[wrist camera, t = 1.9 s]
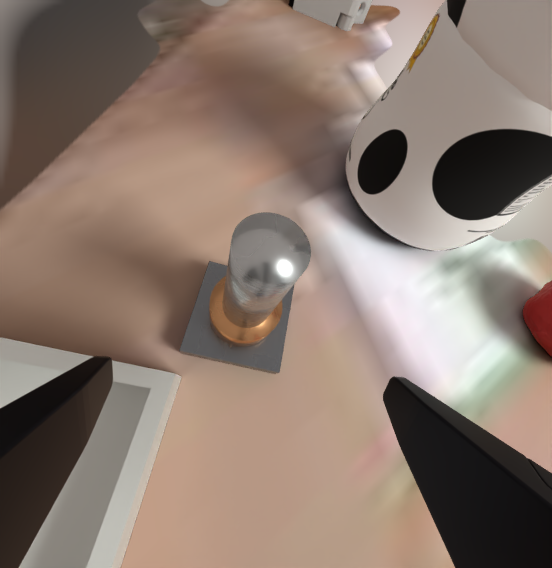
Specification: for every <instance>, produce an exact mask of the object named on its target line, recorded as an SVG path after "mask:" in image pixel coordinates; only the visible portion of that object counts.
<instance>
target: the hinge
mask: <svg viewBox="0 0 552 568" xmlns="http://www.w3.org/2000/svg"><path fill="white" fill-rule="evenodd" d="M371 3H372V0H290V1H289V5H290V6H292V7H293V10H296V11H298V12H300V13H303V14H305V15H307V16H310V17H312V18H314V19H317V20H319V21H321V22H323V23H326V24H328V25H330V26H333V27H335V26H336V25H337V26H338V27H339V28H340V29H342V30H345V31H350V30H351V27H352V25H353V23H360V24H363V22H364V20H365V17H366V15H367V12H368V10H369V8H370V5H371ZM360 4H361V7H360ZM359 7H360V9H359ZM358 9H359V10H358Z"/></svg>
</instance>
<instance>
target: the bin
mask: <svg viewBox="0 0 552 568" xmlns="http://www.w3.org/2000/svg"><path fill="white" fill-rule="evenodd" d="M92 357H93V356H88V355H84V354H79V353H74V352H69V351H64V350H59V349H55V348H50V347H45V346H40V345H35V344H30V343H26V342H21V341H16V340H11V339H6V338H1V337H0V408H2V407H3V406H5V405H7V404H9V403H11V402H12V401H14V400H16V399H18V398H20V397H21V396H23V395H25V394H27V393H29V392H30V391H32V390H34V389H36V388H38V387H39V386H41V385H43V384H45V383H47V382H48V381H50V380H52V379H54V378H56V377H57V376H59V375H61V374H63V373H65V372H66V371H68V370H70V369H72V368H74V367H75V366H77V365H79V364H81V363H83V362H84V361H86V360H88V359H90V358H92ZM112 366H113V383H112V387H111V390H110V392H109V394H108V397H107V399H106V401H105V404H104V406H103V408H102V411H101V413H100V415H99V418H98V420H97V422H96V425H95V427H94V429H93V432H92V434H91V436H90V438H89V441H88V443H87V445H86V447H85V449H84V450H83V452H82V454H81V456H80V458H79V460H78V461H77V463H76V465H75V467H74V469H73V470H72V472H71V474H70V476H69V478H68V480H67V481H66V483H65V485H64V487H63V489H62V490H61V492H60V494H59V496H58V498H57V499H56V501H55V503H54V505H53V507H52V508H51V510H50V512H49V514H48V516H47V518H46V519H45V521H44V523H43V525H42V527H41V528H40V530H39V532H38V534H37V536H36V537H35V539H34V541H33V543H32V545H31V546H30V548H29V550H28V552H27V554H26V556H25V557H24V559H23V561H22V563H21V565H20V566H19V568H121V565H122V562H123V559H124V555H125V552H126V549H127V546H128V543H129V540H130V537H131V534H132V530H133V527H134V524H135V521H136V518H137V515H138V512H139V509H140V505H141V502H142V499H143V496H144V493H145V490H146V487H147V484H148V480H149V477H150V474H151V471H152V468H153V465H154V462H155V459H156V455H157V452H158V449H159V446H160V443H161V440H162V437H163V433H164V430H165V427H166V424H167V421H168V418H169V415H170V412H171V408H172V405H173V402H174V399H175V396H176V393H177V390H178V387H179V383H180V380H181V376H179V375H177V374H175V373H170V372H166V371H161V370H156V369H151V368H146V367H141V366H137V365H132V364H127V363H122V362H117V361H112Z"/></svg>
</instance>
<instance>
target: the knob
mask: <svg viewBox="0 0 552 568" xmlns="http://www.w3.org/2000/svg"><path fill="white" fill-rule="evenodd" d="M310 257H311V249H310V244H309V241H308V239H307V236H306V235H305V233H304V232H303V230H302V229H301V228H300V227H299V226H298V225H297V224H296V223H295V222H293V221H292V220H290V219H289V218H287V217H285V216H282V215H279V214H275V213H257V214H253V215H251V216H249V217H247V218H245V219H244V220H242V221H241V222H240V223H239V224H238V225H237V227H236V228H235V230H234V233H233V235H232V240H231V247H230V254H229V261H228V267H227V274H226V276H225V277H223V278H222V279H221V280H220V281H219V282H218V283H217V284H216V285H215V287H214V289H213V291H212V293H211V296H210V303H209V317H210V323H211V326H212V328H213V330H214V332H215V333H216V335H217V336H218V337H219V338H220V339H221V340H223V341H224V342H226V343H228V344H230V345H233V346H237V347H247V346H252V345H254V344H257V343H259V342H260V341H262V340H263V339H264V338H265V337H266V336H267V335H268V334H269V333H270V332H271V331H272V330H274V328H275V327H276V326H277V324H278V323H279V321H280V318H281V315H282V299H283V297H284V296H285V295H286V294H287V292H288V291H289V290H290V289H291V287H292V286H293V285H294V284H295V282H296V281H297V280H298V279H299V277H300V276H301V275H302V274H303V272H304V271H305V270H306V268H307V266H308V264H309V262H310Z"/></svg>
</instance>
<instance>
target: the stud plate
mask: <svg viewBox="0 0 552 568" xmlns="http://www.w3.org/2000/svg"><path fill="white" fill-rule="evenodd" d="M227 267H228V266H225V265H222V264H218V263H214V262H211V261H209V264H208V267H207V270H206V273H205V276H204V279H203V282H202V285H201V288H200V291H199V294H198V297H197V300H196V303H195V306H194V309H193V312H192V315H191V318H190V321H189V324H188V327H187V330H186V333H185V336H184V338H183V341H182V344H181V347H180V350H179V351H180V352H181V353H182V354H186V355H190V356H195V357H200V358H204V359H209V360H213V361H218V362H222V363H227V364H232V365H236V366H241V367H245V368H250V369H254V370H259V371H264V372H268V373H273V374H276V373H279V372H280V366H281V360H282V354H283V348H284V342H285V336H286V330H287V324H288V318H289V312H290V306H291V301H292V295H293V289H294V285H293V286H292V287H291V289H290V290H289V291H288V292H287V294H286V295H285V296H284V297H283V299H282V315H281V318H280V321H279V323H278V324H277V326H276V327H275V328H274V330H272V331H271V332H270V333H269V334H268V335H267V336H266V337H265V338H264V339H263V340H262V341H260V342H259V343H257V344H254V345H252V346H247V347H237V346H233V345H230V344H228V343H226V342H224V341H223V340H221V339H220V338H219V337H218V336H217V335H216V333H215V332H214V330H213V328H212V326H211V323H210V317H209V303H210V296H211V293H212V291H213V289H214V287H215V285H216V284H217V283H218V282H219V281H220V280H221V279H222V278H223V277H225V276H226V274H227Z"/></svg>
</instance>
